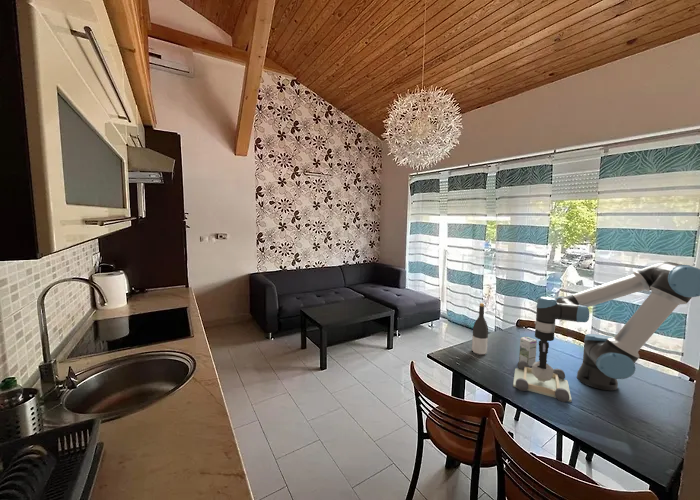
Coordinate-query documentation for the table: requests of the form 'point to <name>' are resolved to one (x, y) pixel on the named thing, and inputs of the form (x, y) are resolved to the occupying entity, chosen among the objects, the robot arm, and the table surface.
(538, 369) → the die
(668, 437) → the table surface
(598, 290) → the robot arm
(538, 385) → the chassis
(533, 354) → the syrup box
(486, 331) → the wine bottle
